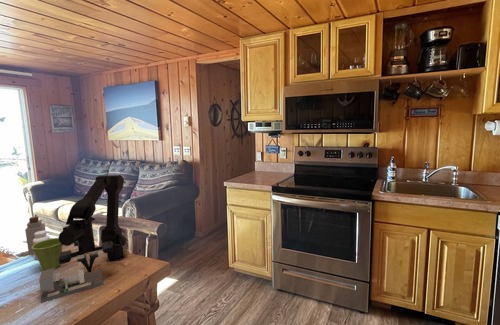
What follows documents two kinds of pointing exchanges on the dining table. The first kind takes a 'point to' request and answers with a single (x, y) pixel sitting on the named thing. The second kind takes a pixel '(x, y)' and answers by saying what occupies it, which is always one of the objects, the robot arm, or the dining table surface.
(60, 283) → the charcoal cuboid
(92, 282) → the gauge bench
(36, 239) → the supplement bottle
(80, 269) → the block with end plate
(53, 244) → the plant pot
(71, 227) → the robot arm
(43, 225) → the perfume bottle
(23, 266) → the dining table surface
